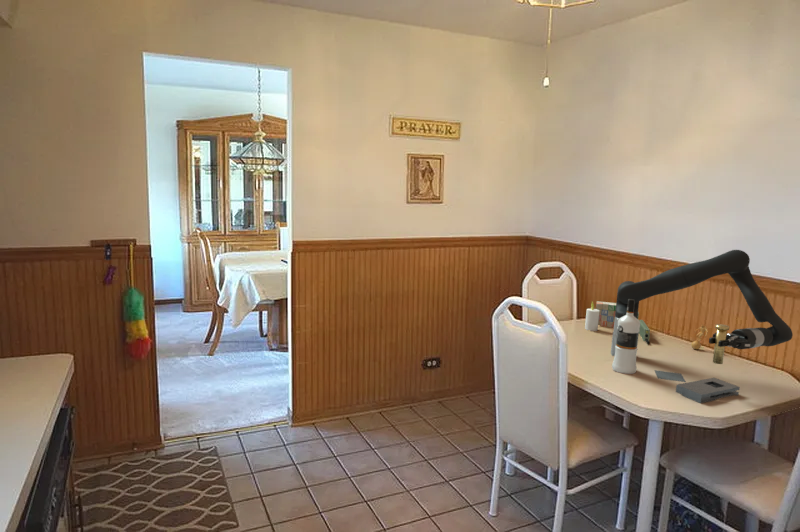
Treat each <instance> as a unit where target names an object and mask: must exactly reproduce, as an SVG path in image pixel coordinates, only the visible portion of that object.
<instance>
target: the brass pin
mask: <svg viewBox="0 0 800 532" xmlns="http://www.w3.org/2000/svg"><path fill="white" fill-rule="evenodd" d="M714 325H715V327H714V328H715V329H716V332H715V333H716V339H715V343H714V349H713V356H712V363H713V364H715V365H716V364H717V365H723V363H724V356H725V348H726V346H724V347H719V346H718V343H719V341H720V340H726V334H728V333H727V332H728V331H730V326H729V325H727V324H721V323H719V324H718V323H716V324H714Z"/></svg>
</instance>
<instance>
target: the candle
mask: <svg viewBox="0 0 800 532" xmlns="http://www.w3.org/2000/svg"><path fill="white" fill-rule="evenodd" d="M585 313H586V315H585V321H584V322H585V325H584V330H585V329H586V330H585V331H588V330H590V331H589V332H597V331H598V328H599V326H598V321H599V310H597V309H596V308H595V305H594V301H591V307H590V308H586V312H585Z"/></svg>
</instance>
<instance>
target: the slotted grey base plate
mask: <svg viewBox="0 0 800 532" xmlns="http://www.w3.org/2000/svg"><path fill="white" fill-rule="evenodd" d="M675 388H676V389H675V393H677V394H680V395H681V396H682V397H685V398H687V399H689V400H691V401H694V402H696V403H699V404H703V403H708V402H712V401H713V402H714V401H717V400H719V399H722V398H727V397H732V396H739V394H740V386H738V385H735V384H733V383H730V382H727V381H726V380H725V381H724V380H722V379H719V378H716V377H709V378H705V379H700V380H695V381H688V382H682V383H678V384H676V387H675Z"/></svg>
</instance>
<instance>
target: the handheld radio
mask: <svg viewBox="0 0 800 532" xmlns="http://www.w3.org/2000/svg"><path fill="white" fill-rule="evenodd" d="M638 320H639V321H640V328H639V330H640V331H639V336H640V338H641V337H642V338H641V339H642V341H643V342H644V341H646V342H645V343H646V344H647V345H650V344H651V343H650V334H651V333H650V332H651V329H650V328H649V327H648V325H647V324H646V322H645V321H644V320H643V319H638Z"/></svg>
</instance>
